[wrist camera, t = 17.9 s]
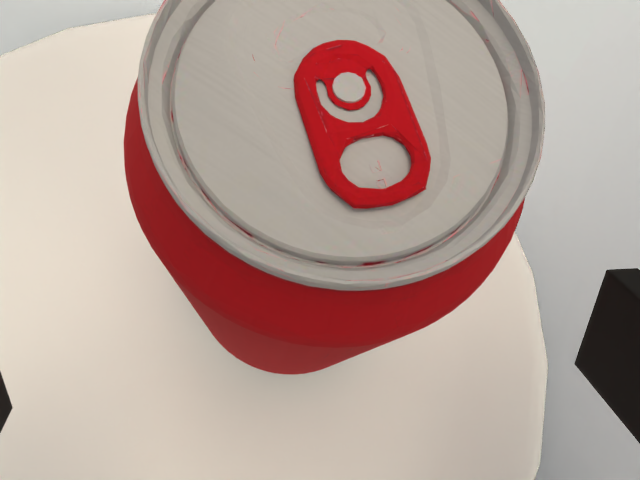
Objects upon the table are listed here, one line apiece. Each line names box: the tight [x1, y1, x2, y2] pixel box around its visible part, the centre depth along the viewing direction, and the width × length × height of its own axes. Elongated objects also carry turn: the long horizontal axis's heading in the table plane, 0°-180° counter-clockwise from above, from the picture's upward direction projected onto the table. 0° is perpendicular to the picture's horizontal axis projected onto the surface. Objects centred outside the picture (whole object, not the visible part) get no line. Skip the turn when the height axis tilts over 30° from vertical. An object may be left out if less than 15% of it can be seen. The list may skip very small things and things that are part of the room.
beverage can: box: [124, 0, 545, 374], centre depth 12 cm, size 6×6×12 cm
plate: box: [0, 14, 548, 480], centre depth 18 cm, size 25×25×1 cm
